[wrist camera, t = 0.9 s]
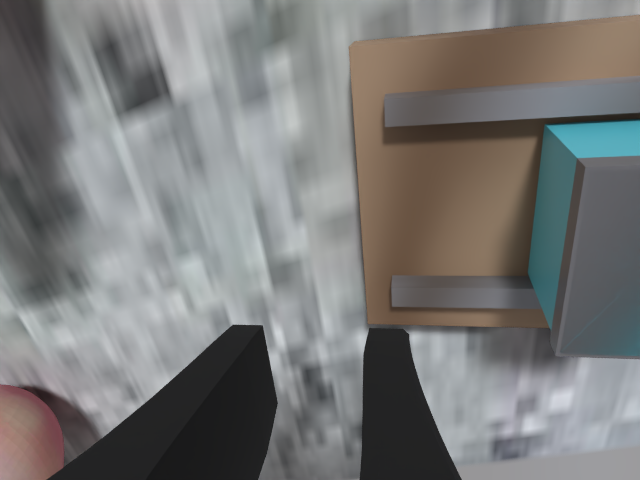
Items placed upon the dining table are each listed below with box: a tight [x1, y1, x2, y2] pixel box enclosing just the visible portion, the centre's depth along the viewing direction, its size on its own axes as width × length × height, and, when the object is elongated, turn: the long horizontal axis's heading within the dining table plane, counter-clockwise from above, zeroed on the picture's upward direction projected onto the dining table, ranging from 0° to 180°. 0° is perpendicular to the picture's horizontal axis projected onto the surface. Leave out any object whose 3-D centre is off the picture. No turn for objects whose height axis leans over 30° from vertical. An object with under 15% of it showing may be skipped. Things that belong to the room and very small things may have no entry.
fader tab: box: [528, 119, 640, 359], centre depth 13 cm, size 3×5×4 cm, turn 6°
